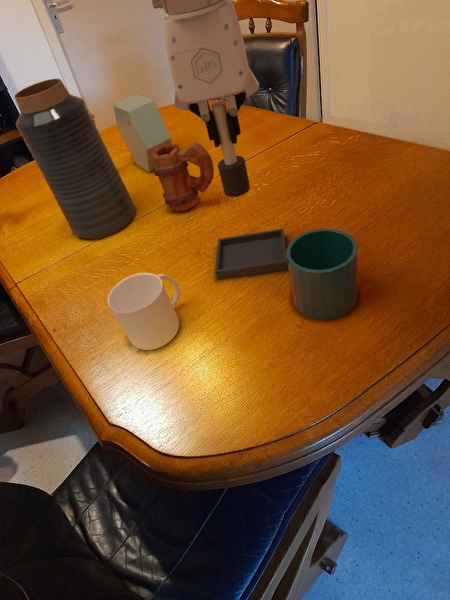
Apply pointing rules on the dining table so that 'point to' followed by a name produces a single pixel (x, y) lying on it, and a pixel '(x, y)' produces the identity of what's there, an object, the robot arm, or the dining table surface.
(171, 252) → the dining table surface
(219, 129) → the brush
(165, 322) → the mug
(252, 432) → the dining table surface
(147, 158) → the pale green angular block
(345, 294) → the jar
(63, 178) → the vase
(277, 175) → the dining table surface
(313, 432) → the dining table surface
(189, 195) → the mug
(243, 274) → the tray
